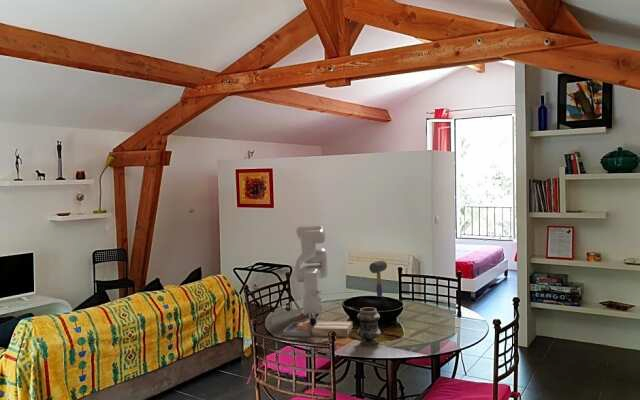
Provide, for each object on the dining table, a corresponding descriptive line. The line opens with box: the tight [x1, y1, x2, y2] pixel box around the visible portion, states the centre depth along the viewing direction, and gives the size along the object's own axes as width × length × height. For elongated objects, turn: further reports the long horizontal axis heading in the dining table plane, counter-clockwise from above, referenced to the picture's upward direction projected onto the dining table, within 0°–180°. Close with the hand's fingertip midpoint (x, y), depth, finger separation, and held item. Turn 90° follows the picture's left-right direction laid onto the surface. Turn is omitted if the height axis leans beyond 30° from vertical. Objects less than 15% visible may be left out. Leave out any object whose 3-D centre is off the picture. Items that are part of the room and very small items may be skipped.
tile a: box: [297, 323, 304, 331], centre depth 294 cm, size 6×6×3 cm
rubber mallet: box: [368, 260, 388, 298], centre depth 341 cm, size 12×8×30 cm, turn 141°
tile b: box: [303, 319, 313, 332], centre depth 287 cm, size 6×6×3 cm
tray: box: [282, 321, 318, 338], centre depth 291 cm, size 19×16×2 cm
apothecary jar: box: [356, 306, 382, 347], centre depth 263 cm, size 12×12×18 cm
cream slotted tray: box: [311, 320, 354, 337], centre depth 287 cm, size 15×20×4 cm
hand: (313, 325), depth 286 cm, fingers closed
